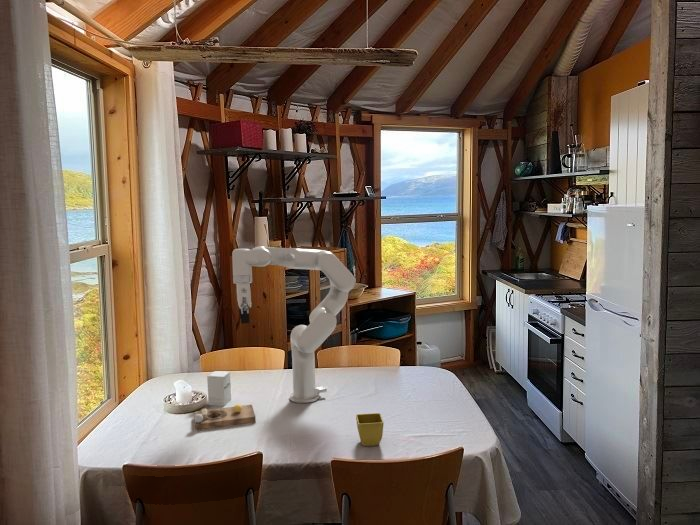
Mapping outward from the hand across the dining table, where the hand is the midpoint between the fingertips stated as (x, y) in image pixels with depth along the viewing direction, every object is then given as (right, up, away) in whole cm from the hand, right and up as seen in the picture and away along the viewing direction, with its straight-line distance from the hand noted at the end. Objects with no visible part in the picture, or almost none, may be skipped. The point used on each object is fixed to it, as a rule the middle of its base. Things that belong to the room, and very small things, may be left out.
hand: (244, 320), depth 221 cm
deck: (-5, -38, -10) cm, 39 cm away
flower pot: (+50, -39, -33) cm, 72 cm away
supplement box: (-12, -36, +8) cm, 39 cm away
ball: (-1, -33, -10) cm, 35 cm away
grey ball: (-14, -35, -18) cm, 41 cm away
